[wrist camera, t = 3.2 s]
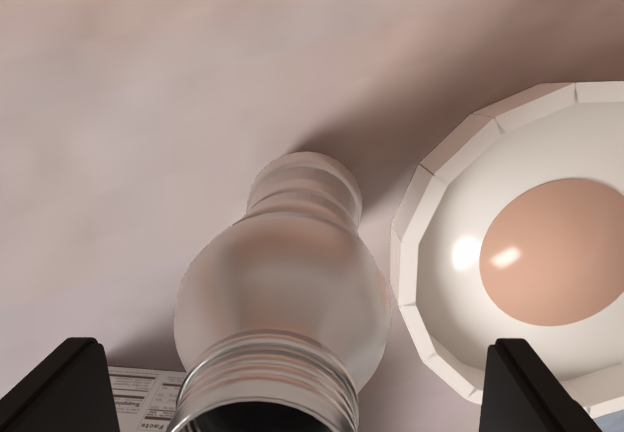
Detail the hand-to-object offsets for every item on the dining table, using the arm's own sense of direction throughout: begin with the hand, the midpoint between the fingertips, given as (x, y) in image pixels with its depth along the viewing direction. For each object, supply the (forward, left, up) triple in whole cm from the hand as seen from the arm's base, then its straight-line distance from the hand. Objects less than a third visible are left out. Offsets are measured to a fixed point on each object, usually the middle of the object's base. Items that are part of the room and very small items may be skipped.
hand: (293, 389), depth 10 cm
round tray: (+4, +16, -17) cm, 24 cm away
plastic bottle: (0, 0, -18) cm, 18 cm away
